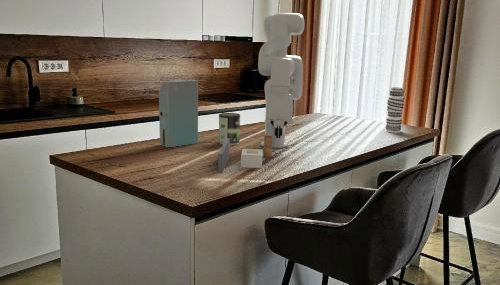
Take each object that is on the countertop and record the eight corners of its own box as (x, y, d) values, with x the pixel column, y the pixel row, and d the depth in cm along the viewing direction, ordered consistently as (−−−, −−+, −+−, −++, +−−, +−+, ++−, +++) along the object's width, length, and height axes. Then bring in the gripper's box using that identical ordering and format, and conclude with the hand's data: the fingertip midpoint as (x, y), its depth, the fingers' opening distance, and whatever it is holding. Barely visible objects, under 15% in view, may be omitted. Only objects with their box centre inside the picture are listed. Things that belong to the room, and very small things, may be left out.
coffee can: (241, 141, 227) (242, 113, 224) (237, 145, 217) (237, 116, 214) (221, 140, 229) (221, 112, 226) (215, 144, 219) (216, 115, 216)
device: (189, 140, 225) (188, 79, 219) (198, 143, 220) (198, 80, 213) (159, 145, 214) (158, 80, 208) (168, 148, 209) (167, 82, 202)
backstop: (225, 156, 196) (226, 138, 195) (269, 158, 196) (269, 139, 194) (218, 175, 169) (218, 154, 167) (268, 177, 168) (269, 155, 167)
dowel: (263, 157, 196) (264, 134, 194) (271, 157, 196) (272, 134, 194) (263, 159, 193) (264, 136, 191) (271, 159, 193) (271, 136, 191)
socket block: (242, 160, 187) (242, 148, 186) (262, 161, 187) (262, 149, 186) (240, 167, 177) (241, 154, 176) (261, 168, 177) (261, 155, 176)
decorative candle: (403, 133, 259) (408, 88, 254) (387, 132, 259) (391, 88, 254) (398, 130, 268) (403, 87, 263) (382, 129, 268) (386, 86, 263)
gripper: (299, 90, 178) (297, 136, 182) (260, 89, 179) (259, 135, 183) (300, 91, 171) (298, 140, 175) (260, 90, 172) (258, 138, 175)
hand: (278, 137), depth 179 cm, fingers closed
